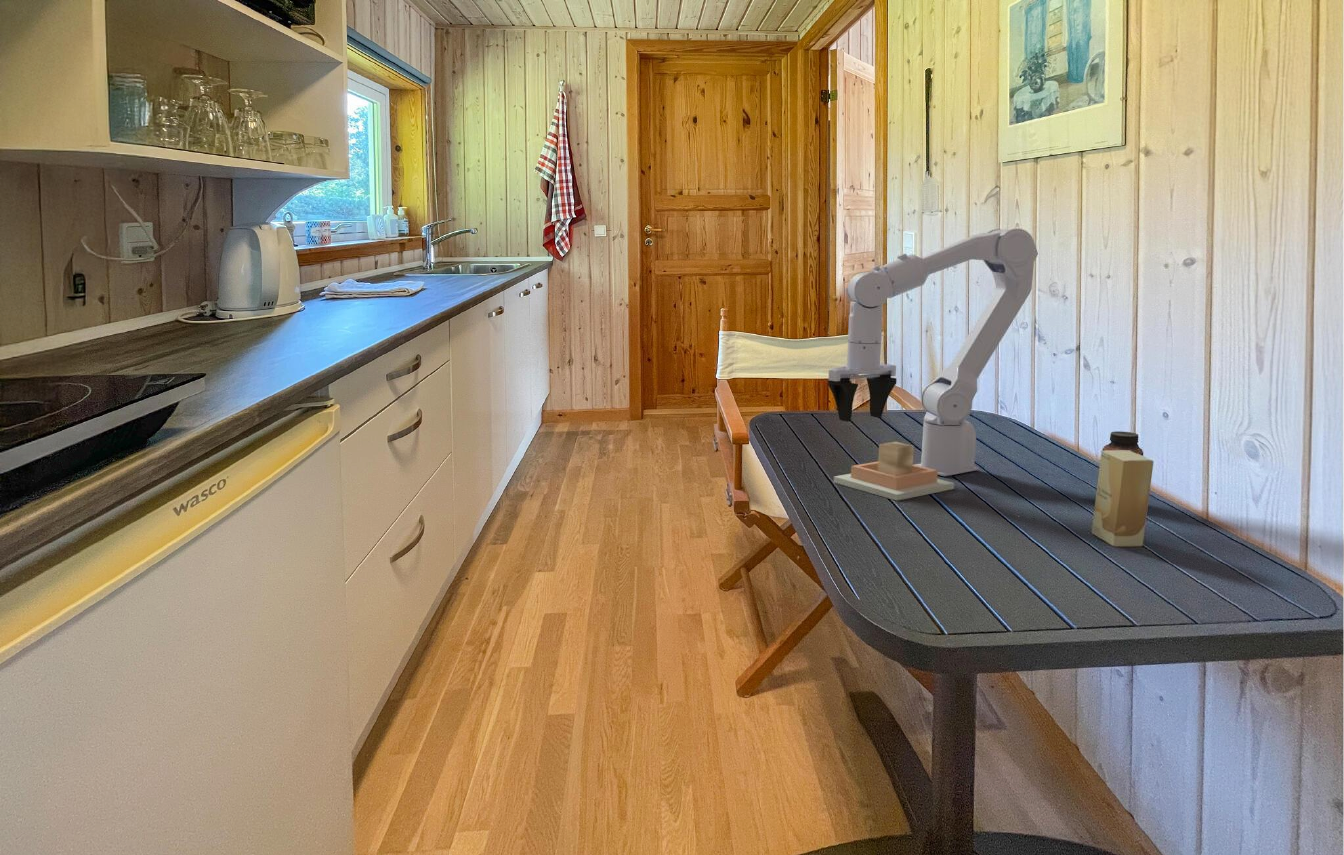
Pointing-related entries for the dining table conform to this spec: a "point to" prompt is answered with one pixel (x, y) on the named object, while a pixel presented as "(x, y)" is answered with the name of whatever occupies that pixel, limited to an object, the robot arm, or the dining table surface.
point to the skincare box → (1122, 497)
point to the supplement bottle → (1124, 442)
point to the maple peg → (895, 458)
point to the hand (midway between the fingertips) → (860, 418)
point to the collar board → (894, 481)
